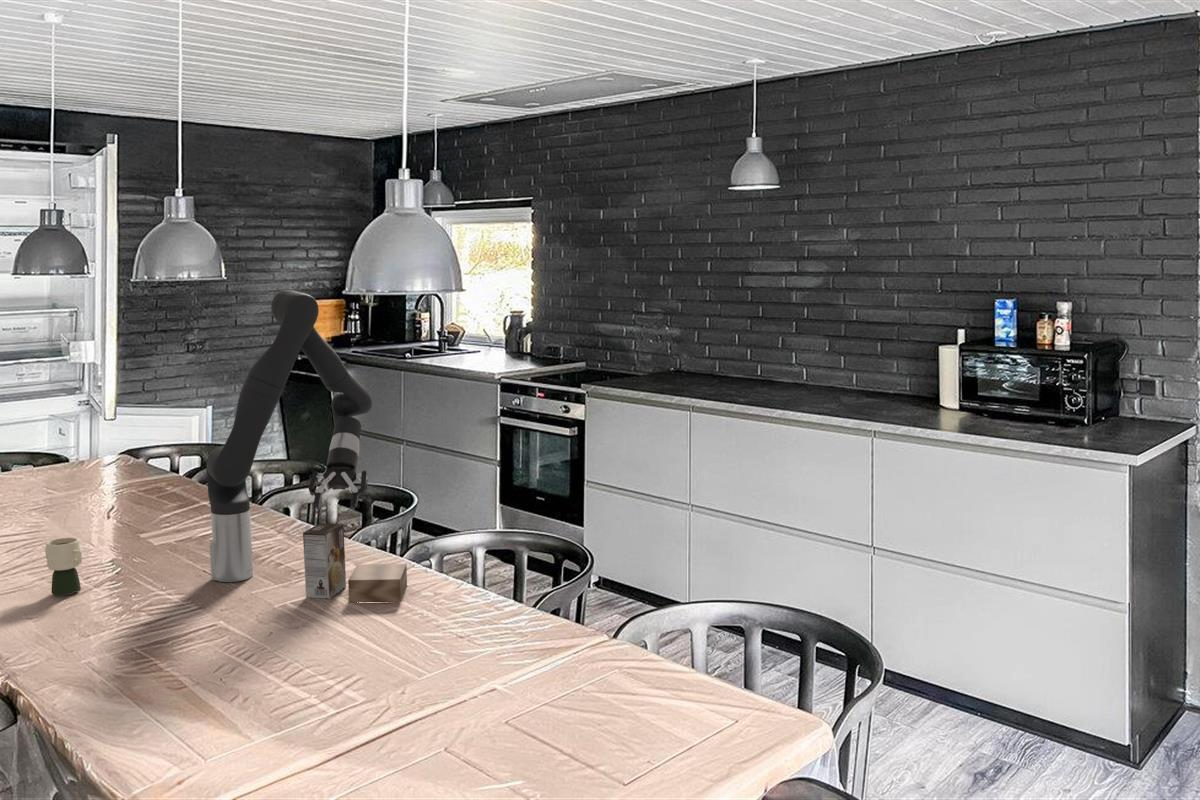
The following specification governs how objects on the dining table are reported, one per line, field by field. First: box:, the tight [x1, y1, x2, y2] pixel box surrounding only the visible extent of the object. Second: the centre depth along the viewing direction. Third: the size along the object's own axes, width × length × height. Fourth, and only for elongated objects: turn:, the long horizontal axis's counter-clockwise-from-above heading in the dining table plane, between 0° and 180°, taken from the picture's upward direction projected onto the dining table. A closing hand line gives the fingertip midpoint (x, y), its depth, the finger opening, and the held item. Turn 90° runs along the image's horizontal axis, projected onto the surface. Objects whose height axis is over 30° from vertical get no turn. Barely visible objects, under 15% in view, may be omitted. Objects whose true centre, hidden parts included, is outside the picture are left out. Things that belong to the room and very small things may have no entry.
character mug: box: [44, 536, 83, 596], centre depth 249 cm, size 11×7×13 cm, turn 70°
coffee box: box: [302, 522, 347, 599], centre depth 250 cm, size 9×6×16 cm
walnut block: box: [347, 563, 408, 604], centre depth 249 cm, size 12×12×6 cm
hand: (335, 508), depth 260 cm, fingers open, 8 cm apart
